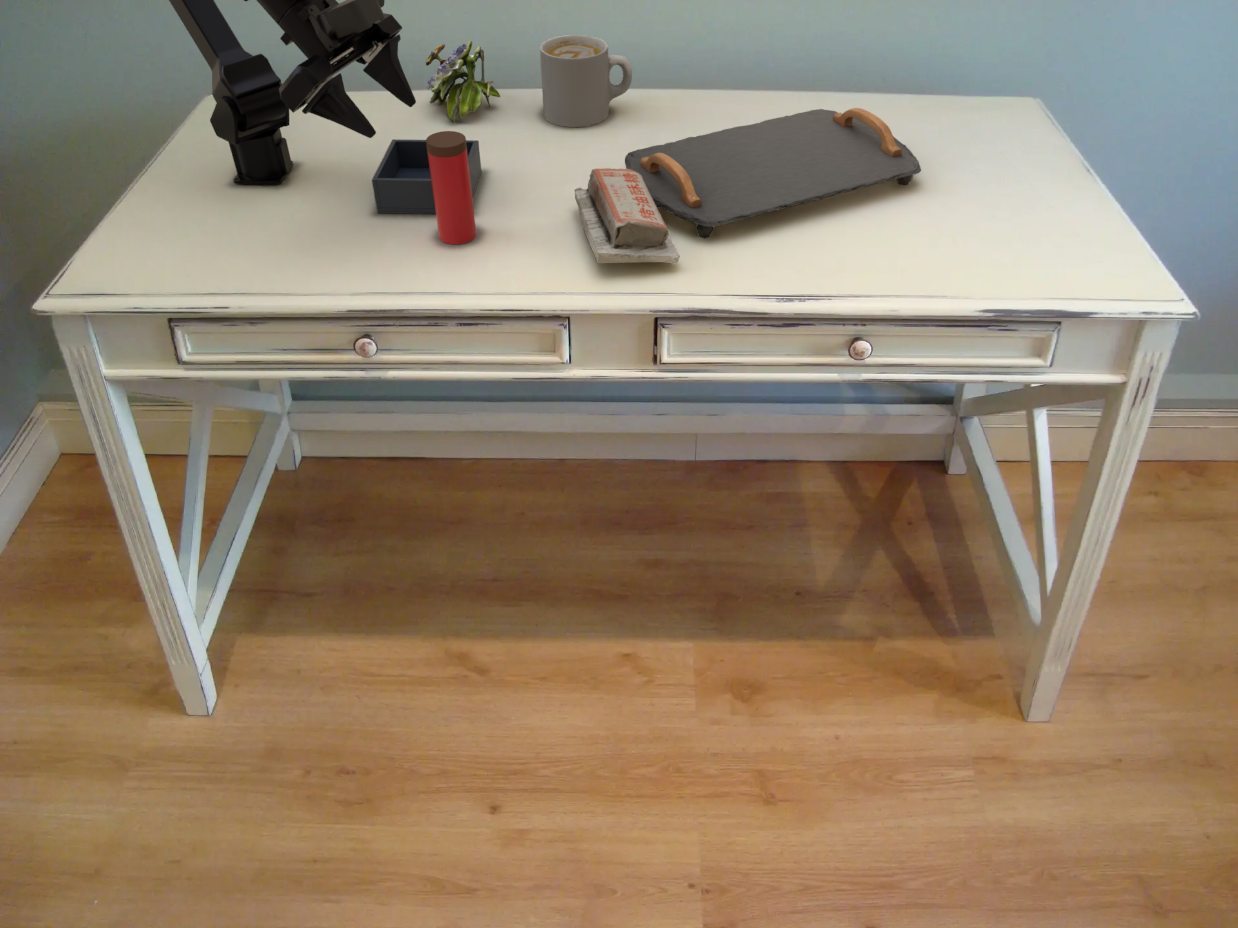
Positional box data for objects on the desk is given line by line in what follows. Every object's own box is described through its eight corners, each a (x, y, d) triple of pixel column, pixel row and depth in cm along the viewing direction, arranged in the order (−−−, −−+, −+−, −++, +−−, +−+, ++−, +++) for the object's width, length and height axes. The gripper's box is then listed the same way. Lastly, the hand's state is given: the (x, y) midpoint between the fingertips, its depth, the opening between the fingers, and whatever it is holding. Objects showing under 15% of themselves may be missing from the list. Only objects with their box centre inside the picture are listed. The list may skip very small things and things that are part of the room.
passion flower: (446, 137, 162) (435, 60, 161) (512, 126, 160) (501, 47, 159) (422, 122, 151) (410, 39, 150) (493, 110, 149) (481, 25, 148)
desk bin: (377, 213, 132) (371, 180, 129) (397, 171, 141) (392, 139, 138) (467, 214, 131) (463, 181, 128) (481, 172, 140) (478, 140, 137)
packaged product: (574, 163, 128) (651, 165, 130) (571, 199, 131) (647, 200, 133) (600, 227, 115) (685, 228, 117) (595, 266, 118) (679, 266, 120)
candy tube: (436, 244, 126) (422, 147, 117) (442, 226, 129) (429, 130, 121) (473, 245, 125) (462, 147, 117) (479, 226, 129) (468, 131, 121)
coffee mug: (541, 127, 152) (537, 58, 145) (546, 100, 159) (542, 34, 152) (631, 127, 151) (631, 59, 145) (632, 101, 159) (632, 35, 152)
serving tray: (686, 252, 124) (688, 205, 120) (603, 176, 139) (602, 132, 135) (939, 184, 137) (948, 140, 132) (836, 121, 152) (842, 80, 148)
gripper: (281, -11, 105) (389, 113, 109) (377, -61, 117) (470, 52, 122) (234, 54, 112) (337, 167, 117) (329, 0, 125) (419, 104, 130)
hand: (394, 120), depth 121 cm, fingers open, 9 cm apart
